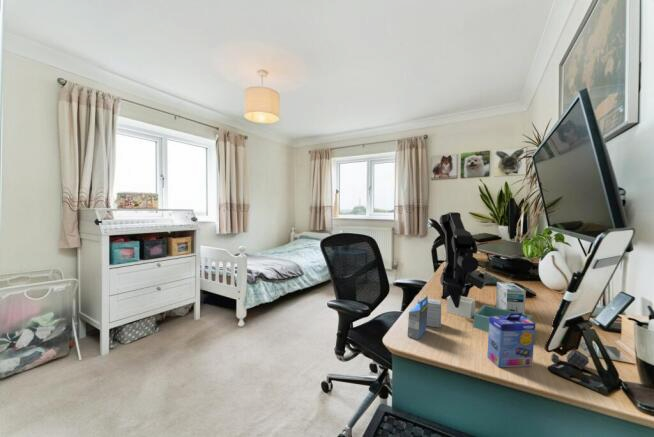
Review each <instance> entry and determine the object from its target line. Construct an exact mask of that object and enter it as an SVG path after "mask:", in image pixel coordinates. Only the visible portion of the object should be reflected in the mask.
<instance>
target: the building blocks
mask: <svg viewBox="0 0 654 437" xmlns="http://www.w3.org/2000/svg"><path fill="white" fill-rule="evenodd" d="M572 350H573V349H572ZM572 350H571V351H570V352H569V353H568V354H567V355H566V362H567V363H569V364H571V365H572V366H573V365H574V367H575V366H576V367H578V368H580V369H582V370H583V369H584V368H585V367H586V366H587V365H588V364H590V361H589V360H590V359H589V357H588V356H587V355H585V354H584V353H582V352H581V351H579V350H577V349H576V350H573V351H572ZM550 358H551V360H550V361H551V362H553V363H554V364H557V363H558V361H559V355H557V354H556V353H552V355H551V357H550ZM576 367H575V368H576ZM578 368H577V369H578Z"/></svg>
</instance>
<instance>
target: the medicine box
mask: <svg viewBox="0 0 654 437" xmlns="http://www.w3.org/2000/svg"><path fill="white" fill-rule="evenodd" d="M424 298H425V297H423V298H422V297H418V298H417V304H419V302H420V301H422V300H423V299H424ZM424 303H425V302H424ZM426 327H433V328H441V327H442V301H441V299H440V300H439V299H432V298H431V299H430V298H428V305H427V323H426Z"/></svg>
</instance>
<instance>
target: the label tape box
mask: <svg viewBox="0 0 654 437" xmlns="http://www.w3.org/2000/svg"><path fill="white" fill-rule="evenodd" d="M423 298H424V299H423V300H422V301H420V302H419V304H418V303H416V304H415V306H414V307H413V308H412V309H411V310H409V312H408V317H407V318H408V321H407V322H408V323H407V337H409V338H411V337H412V339H414V338H415V340H420V339H421V337H422V335H423V334H424V333H425V331H426V330H427V326H426V323H427V305H428V299H429V296H428V295H426V296H425V297H423ZM424 302H425V303H424Z"/></svg>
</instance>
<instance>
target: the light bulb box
mask: <svg viewBox="0 0 654 437" xmlns="http://www.w3.org/2000/svg"><path fill="white" fill-rule="evenodd" d="M526 294H527V290H526V289H524V288H523V287H520V286H519V285H516V284H515V283H513V282H502V281H497V282H496V294H495V295H496V299H495V300H496V301H495V307H496V308H501V309H505V310H510V311H514V312H518V313H523V314H526Z"/></svg>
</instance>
